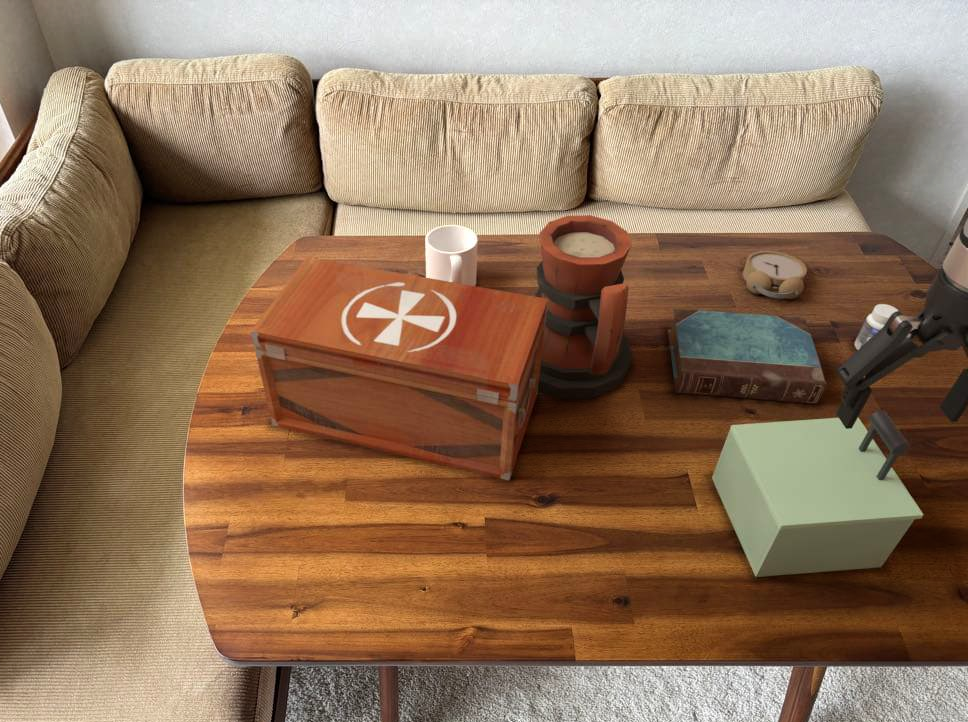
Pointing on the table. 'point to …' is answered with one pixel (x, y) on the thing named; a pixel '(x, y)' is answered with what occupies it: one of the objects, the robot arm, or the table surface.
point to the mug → (451, 254)
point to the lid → (827, 471)
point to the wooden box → (403, 364)
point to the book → (745, 356)
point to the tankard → (583, 307)
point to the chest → (795, 529)
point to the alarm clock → (774, 274)
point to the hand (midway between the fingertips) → (896, 417)
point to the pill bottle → (874, 323)
